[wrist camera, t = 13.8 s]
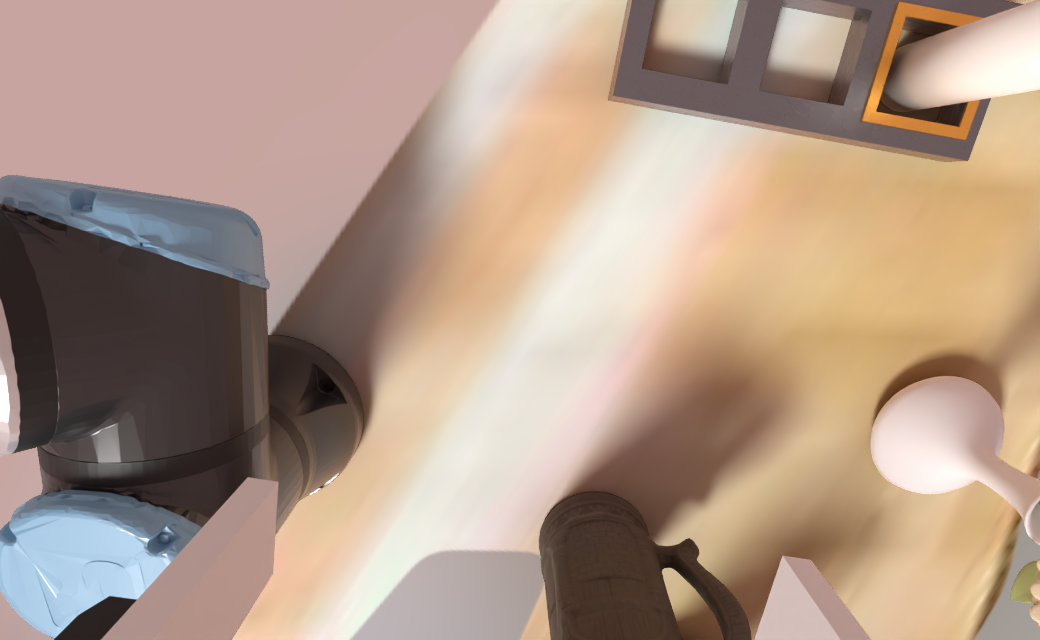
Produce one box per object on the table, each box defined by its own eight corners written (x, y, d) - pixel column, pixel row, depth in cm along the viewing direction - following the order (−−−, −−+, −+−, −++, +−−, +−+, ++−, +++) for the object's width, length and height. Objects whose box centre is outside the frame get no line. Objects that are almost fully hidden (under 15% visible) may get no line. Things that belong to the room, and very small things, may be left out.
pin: (867, 106, 44) (1039, 71, 29) (889, 38, 43) (1079, -34, 28) (927, 117, 44) (1127, 88, 29) (950, 50, 43) (1171, -15, 28)
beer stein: (555, 602, 56) (592, 821, 36) (514, 516, 53) (531, 703, 34) (696, 545, 55) (810, 737, 36) (661, 456, 53) (764, 611, 33)
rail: (608, 100, 44) (613, 95, 41) (638, -56, 41) (646, -71, 38) (944, 161, 45) (970, 160, 42) (996, 14, 42) (1027, 3, 39)
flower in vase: (944, 344, 49) (1359, 509, 25) (1007, 433, 51) (1446, 665, 27) (820, 432, 51) (1089, 663, 27) (885, 513, 53) (1188, 795, 29)
